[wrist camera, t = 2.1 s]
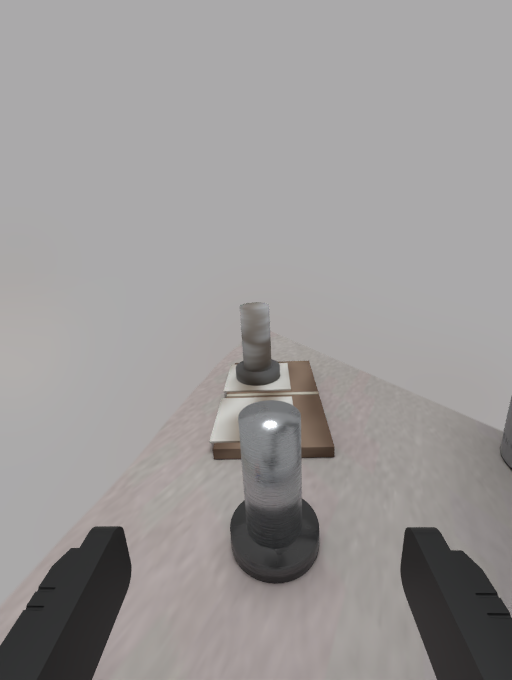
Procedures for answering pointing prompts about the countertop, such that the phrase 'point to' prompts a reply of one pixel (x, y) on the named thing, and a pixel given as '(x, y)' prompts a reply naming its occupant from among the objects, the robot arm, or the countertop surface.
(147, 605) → the countertop surface
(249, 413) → the pin
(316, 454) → the board
